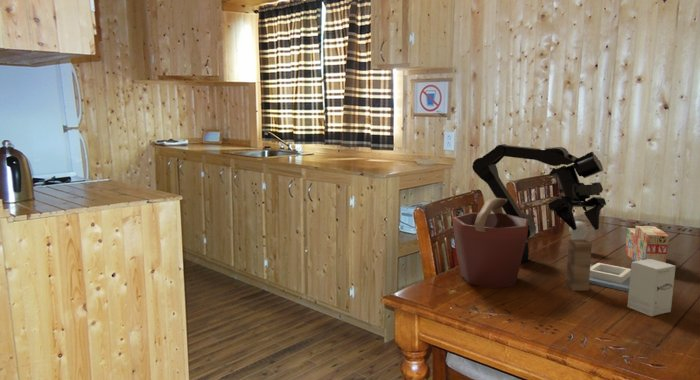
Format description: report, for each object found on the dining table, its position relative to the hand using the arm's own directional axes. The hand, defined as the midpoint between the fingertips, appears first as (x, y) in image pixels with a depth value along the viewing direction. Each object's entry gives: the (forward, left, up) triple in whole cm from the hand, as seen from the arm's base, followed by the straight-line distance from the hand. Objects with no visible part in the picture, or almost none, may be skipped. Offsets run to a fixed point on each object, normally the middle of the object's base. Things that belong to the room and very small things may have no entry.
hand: (586, 229), depth 159 cm
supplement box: (+26, -7, -15) cm, 31 cm away
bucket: (-12, -26, -15) cm, 33 cm away
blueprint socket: (+5, +5, -15) cm, 17 cm away
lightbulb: (-21, +22, -15) cm, 34 cm away
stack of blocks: (-1, +31, -16) cm, 35 cm away
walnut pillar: (+6, -10, -15) cm, 19 cm away
